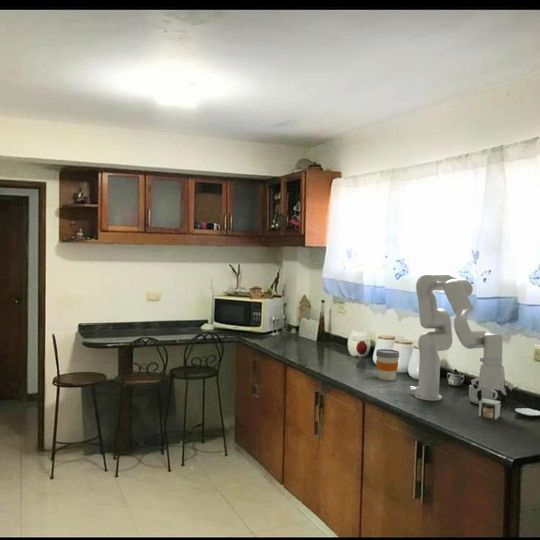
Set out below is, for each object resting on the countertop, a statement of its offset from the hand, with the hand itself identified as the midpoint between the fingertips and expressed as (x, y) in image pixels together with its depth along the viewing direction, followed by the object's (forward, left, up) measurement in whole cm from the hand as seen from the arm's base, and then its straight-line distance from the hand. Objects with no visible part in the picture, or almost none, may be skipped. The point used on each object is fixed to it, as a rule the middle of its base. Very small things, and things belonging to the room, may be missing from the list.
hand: (491, 401), depth 246 cm
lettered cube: (-1, 0, -6) cm, 6 cm away
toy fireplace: (-1, 0, -6) cm, 6 cm away
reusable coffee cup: (-64, +40, -7) cm, 76 cm away
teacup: (-8, +19, -7) cm, 22 cm away
